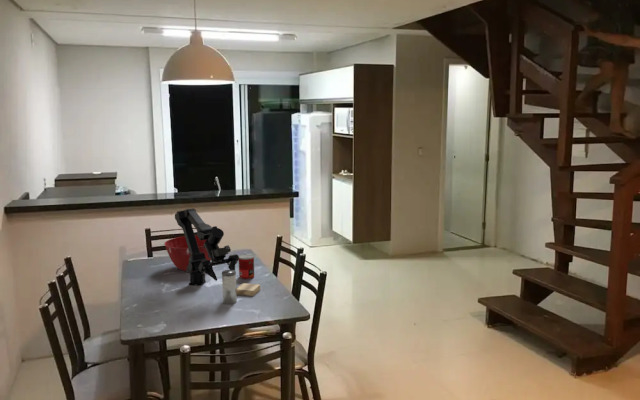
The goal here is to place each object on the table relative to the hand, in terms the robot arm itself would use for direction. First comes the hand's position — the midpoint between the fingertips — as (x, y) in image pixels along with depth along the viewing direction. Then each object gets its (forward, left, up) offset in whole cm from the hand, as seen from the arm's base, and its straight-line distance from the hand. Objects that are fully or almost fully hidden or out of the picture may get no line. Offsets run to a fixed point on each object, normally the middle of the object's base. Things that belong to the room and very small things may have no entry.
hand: (225, 278), depth 236 cm
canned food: (-5, +34, -10) cm, 36 cm away
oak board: (+5, +12, -10) cm, 17 cm away
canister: (+2, -2, -10) cm, 11 cm away
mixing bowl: (-41, +42, -10) cm, 59 cm away
